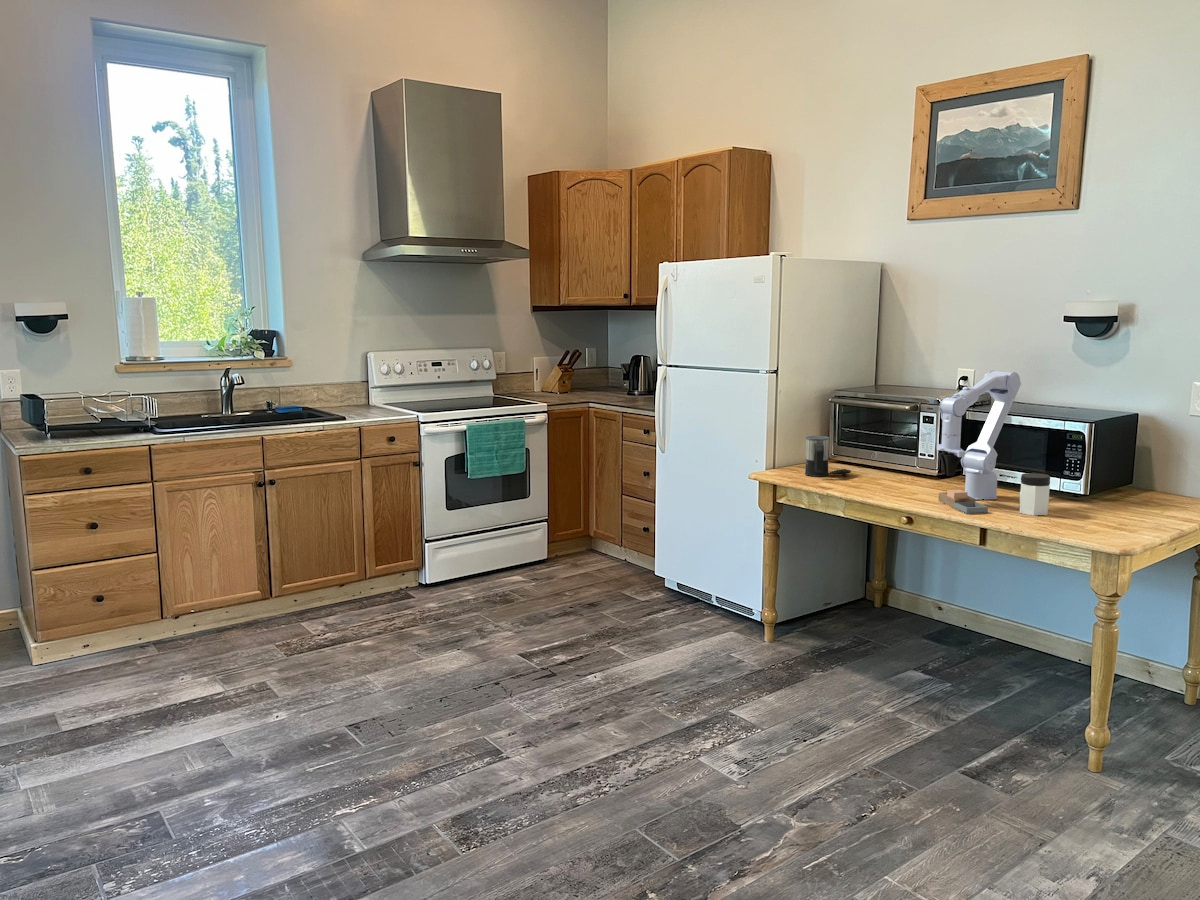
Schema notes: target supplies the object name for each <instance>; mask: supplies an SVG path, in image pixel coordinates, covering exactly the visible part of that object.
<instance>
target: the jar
mask: <svg viewBox="0 0 1200 900" xmlns="http://www.w3.org/2000/svg"><path fill="white" fill-rule="evenodd" d="M1050 485H1051V475H1049V474H1045V473H1036V472H1028V473H1026V472H1025V473H1021V476H1020V491H1019V508H1018V509H1019V514H1021V513H1022V514H1021V515H1026V514H1027V516H1031V515H1033V516H1032V517H1039V516H1038V515H1044V516H1048V514H1049V504H1050V503H1049V500H1050V487H1051V486H1050Z"/></svg>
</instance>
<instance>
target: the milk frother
mask: <svg viewBox="0 0 1200 900" xmlns="http://www.w3.org/2000/svg"><path fill="white" fill-rule="evenodd" d="M829 441H830V437H829V436H823V435H809V436H805V442H806V443H805V468H804V475H805V474H806V475H805V476H808V475H809V476H808V477H828V476H829V475H831V474H832V475H841V476H843V477H846V476H847V475H848V474H851V473H852V470H850V469H847V468H842V469H836V470H833V471H830V472H829V449H830V447H829V446H830V444H829V443H830V442H829Z"/></svg>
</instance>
